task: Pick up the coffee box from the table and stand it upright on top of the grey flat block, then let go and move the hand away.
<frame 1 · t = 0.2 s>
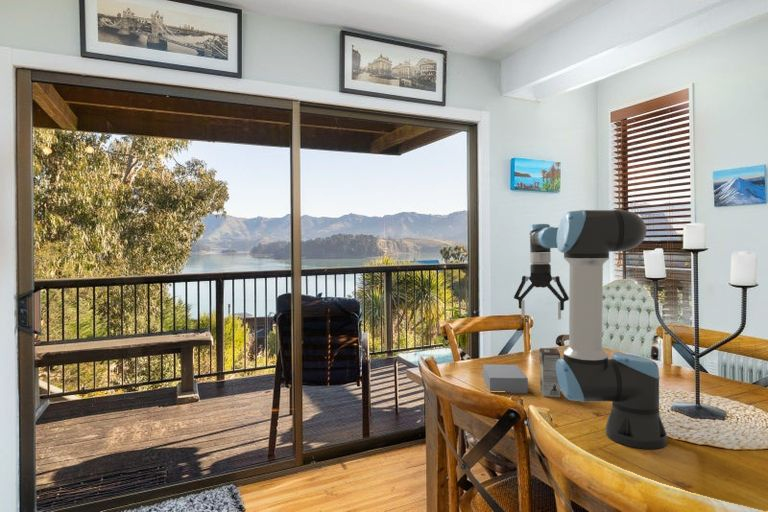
hand: (541, 318, 175), 27 cm above the table, tool pointing down, fingers open, 13 cm apart
grey flat block: (504, 385, 179), on the table
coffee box: (549, 393, 168), on the table
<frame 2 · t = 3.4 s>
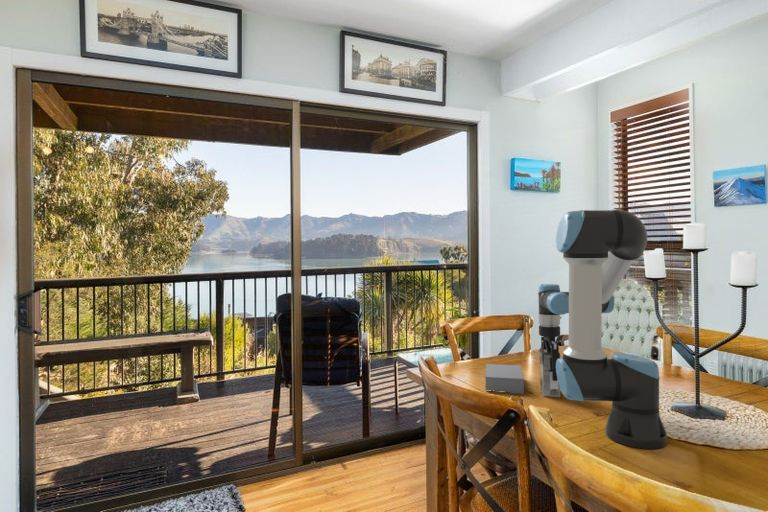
hand: (549, 384, 168), 3 cm above the table, tool pointing down, fingers closed on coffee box, 9 cm apart
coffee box: (550, 393, 168), on the table, touching gripper
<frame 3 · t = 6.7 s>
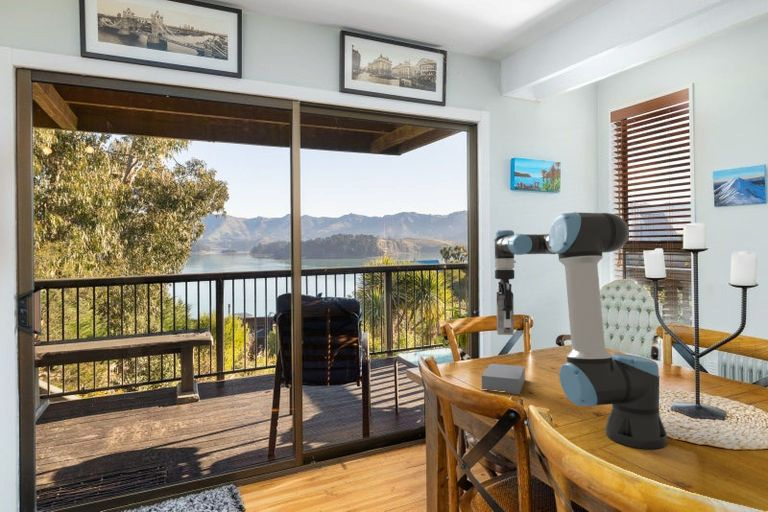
hand: (504, 325, 179), 24 cm above the table, tool pointing down, fingers closed on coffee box, 9 cm apart
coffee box: (505, 333, 179), point 21 cm above the table, touching gripper
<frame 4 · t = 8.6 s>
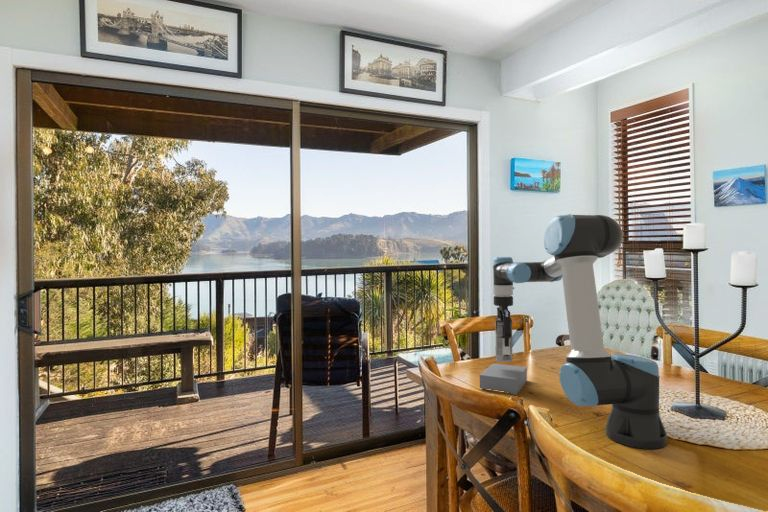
hand: (503, 351, 179), 13 cm above the table, tool pointing down, fingers closed on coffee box, 9 cm apart
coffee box: (503, 359, 179), point 10 cm above the table, touching gripper
when the fingers open (10 cm above the table, at t = 10.1 s): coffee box drops 2 cm, resting on grey flat block.
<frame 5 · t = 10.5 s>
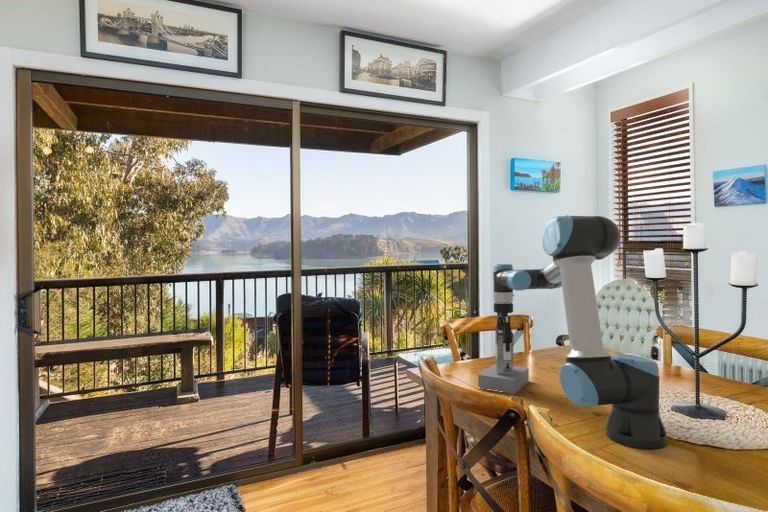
hand: (503, 355, 179), 12 cm above the table, tool pointing down, fingers open, 13 cm apart
grey flat block: (504, 386, 179), on the table, touching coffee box
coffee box: (504, 372, 178), point 5 cm above the table, touching grey flat block
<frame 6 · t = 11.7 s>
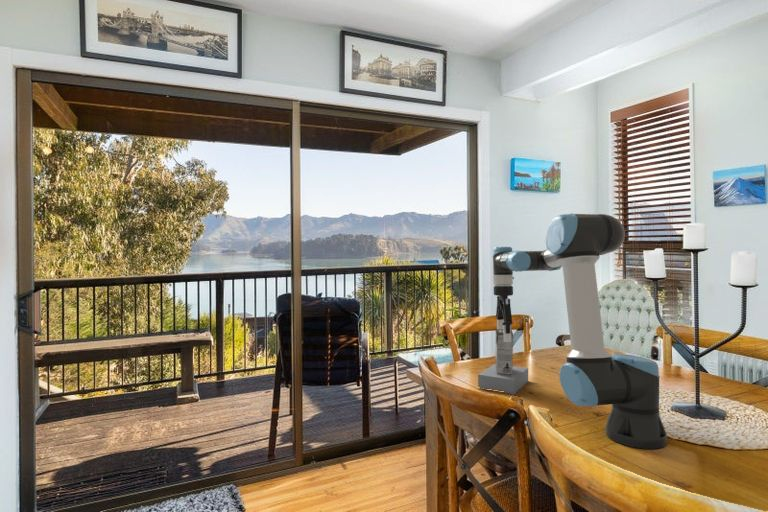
hand: (504, 338, 178), 19 cm above the table, tool pointing down, fingers open, 13 cm apart
grey flat block: (503, 386, 179), on the table
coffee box: (503, 371, 179), point 5 cm above the table
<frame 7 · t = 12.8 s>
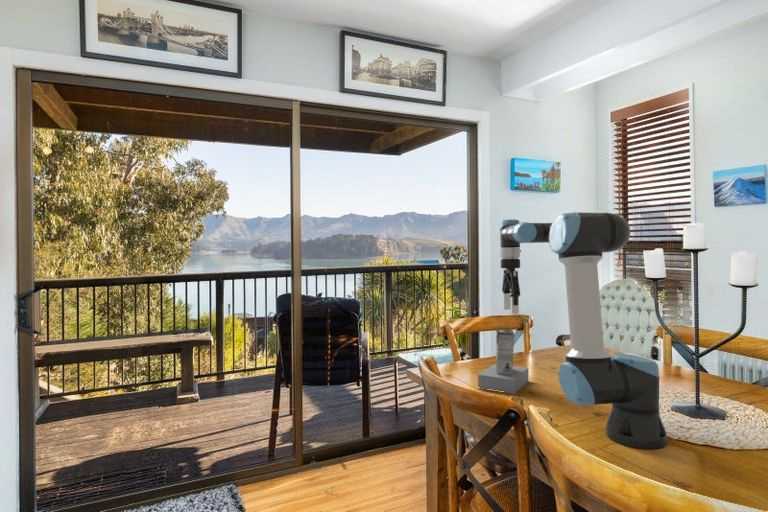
hand: (510, 311, 179), 29 cm above the table, tool pointing down, fingers open, 13 cm apart
grey flat block: (504, 386, 179), on the table, touching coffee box
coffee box: (503, 371, 179), point 5 cm above the table, touching grey flat block
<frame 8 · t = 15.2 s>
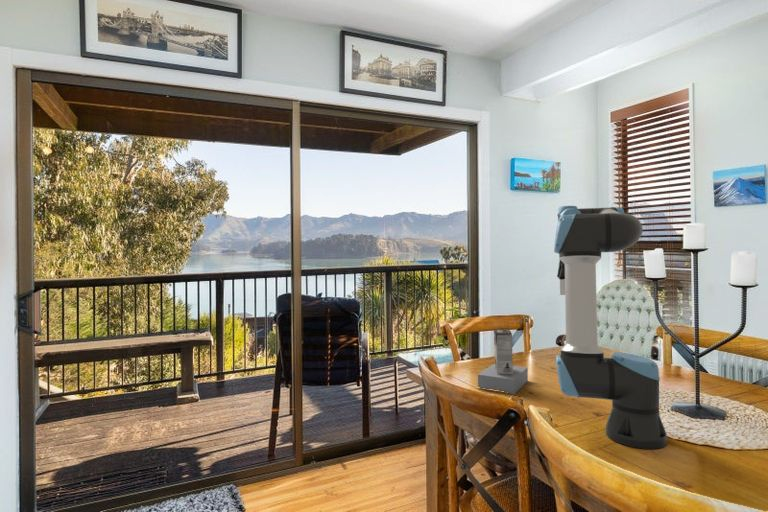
hand: (568, 296, 182), 35 cm above the table, tool pointing down, fingers open, 13 cm apart
at the end: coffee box inside the target area on the grey flat block (0.6 cm from its centre), point 5.9 cm above the grey flat block's base; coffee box tilted 1°; the gripper is holding nothing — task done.
